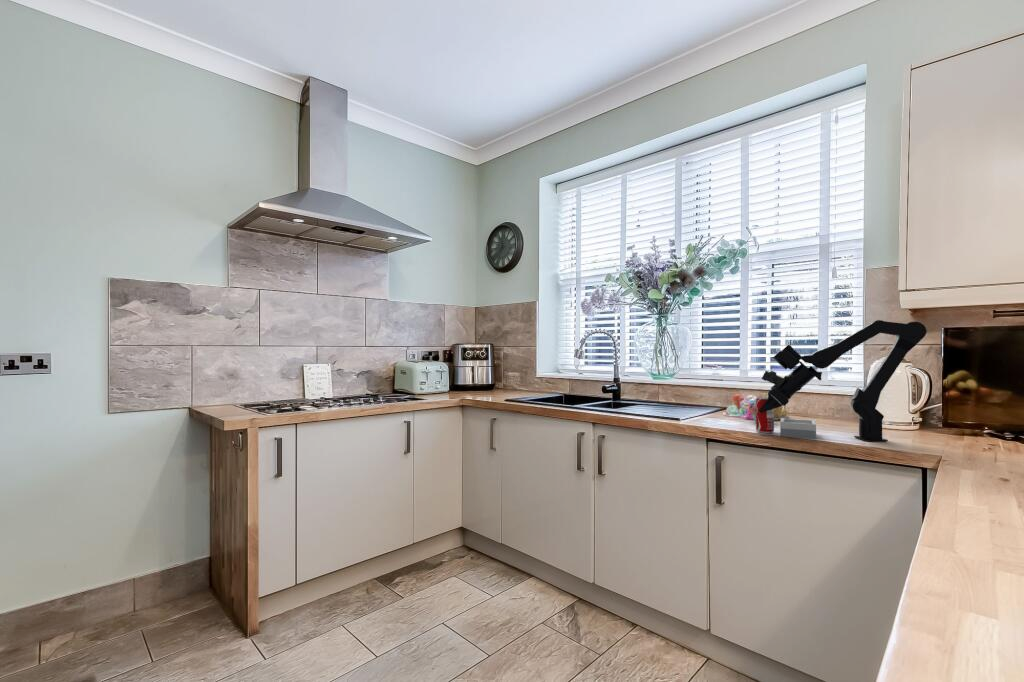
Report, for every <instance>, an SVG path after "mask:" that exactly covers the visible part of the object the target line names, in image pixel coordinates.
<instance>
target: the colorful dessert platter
mask: <svg viewBox="0 0 1024 682" xmlns="http://www.w3.org/2000/svg"><path fill="white" fill-rule="evenodd" d="M731 399H732V402H733V404H732V405H729V406H728V407H726V408H725V412H723V413H722V415H723V416H724V417H728V418H729V417H730V418H739V419H743V420H755V418H754V416H753V414H752V413H750V409H751V407H753V406H754V405H756V399H757V396H756V395H752V394H750V395H747V397H746V398H745V397H743V396H742V395H741V394H739V393H735V394H733V395H732V397H731ZM774 410H775V414H774V421H775V420H779V421H780V420H781V418H786V419H787V418H789V415H788V411H787V410H786V409H785V408H784V406H781V407H778V408H775V409H774Z"/></svg>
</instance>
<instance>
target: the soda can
mask: <svg viewBox="0 0 1024 682" xmlns="http://www.w3.org/2000/svg"><path fill="white" fill-rule="evenodd" d="M756 398H757V399H756V421H755V431H758V432H757V433H761V432H762V433H761V434H772V432H774V431H775V420H774V409H772V410H769V411H766V412H763V413H760V412H759V409H760V408H761V407H762V405H763V404H764V403H765V402H766V400H767V399H768V396H767V397H765V396H756Z"/></svg>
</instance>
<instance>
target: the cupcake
mask: <svg viewBox="0 0 1024 682" xmlns="http://www.w3.org/2000/svg"><path fill="white" fill-rule="evenodd" d="M764 397H768V392H767V391H766V393H765V394H764ZM750 413H752V414H753V416H754V418H755V419H754V421H755V422H756V405H754V406H753V407H751V409H750ZM774 414H775V410H774Z"/></svg>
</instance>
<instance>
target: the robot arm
mask: <svg viewBox="0 0 1024 682" xmlns="http://www.w3.org/2000/svg"><path fill="white" fill-rule="evenodd" d="M879 334H884V335H892V336H895V338H894V341H893V344H892V347H891V348H890V350H889V352H888V353H887V354H886V356H885V358H884V359H883V361H882V362H881V364H880V365H879V367H878V368H877V370H876V371H875V372H874V375H873V376H872V377H871V379H870V380H869V382H868V383H867V384H866V386H864V387H863V388H862V389H861V388H859V387H857V388H856V389H855V391H854V394H853V395H852V396H850V397H849V398H850V400H851V401H850V407H851V409H852V410H853V412H855V413H856V414H857V415H858V416H859V418H858V435H854V436H853V437H854V438H855V439H859V440H862V441H865V442H888V439H886V438H884V437H883V420H884V418H885V415H884V414H883V413H881V412H880V411H879V410H878V409H876V407H877V404H878V403H879V399H880V397H881V393H882V391H883V390H884V388H885V386H886V385H887V384H888V383H889V381H890V379H891V378H892V376H893V374H895V372H896V371H897V369H898V367H899V366H900V364H901V363H902V361H903V360H904V358H905V357H906V356H907V354H908V353H909V352H910V351H911V350H913V348H915V346H917V345H918V344H919V343H920V342H921V341H922V340H923V339H924V338H925V336H926V335H927V328H926V326H925V324H924V323H921V322H919V321H910V322H909V321H908V322H905V323H902V322H892V321H884V320H880V319H877V320H873V321H872V322H871V323H870V324H868V325H866V326H864V327H863V328H861V329H860V330H857V331H856V332H855V333H853V334H851V335H849V336H847V337H845V338H844V339H842V340H840V341H838V342H836V343H835V344H832V345H829V346H827V347H824V348H822V349H819V350H816V351H814V352H813V353H812V354H808V355H805V354H804V355H801V354H800V353H798V352H797V351H796V350H795V349H794V347H792V345H790V344H787V345H786V346H785V347H784V348H783V349H782V350H779V352H777V353H776V354H775V355H774V356H773V357H772V359H773V360H774V361H775V362H777V364H779V366H781V367H782V368H783V369H784V370H787V369H789V370H790V371H791V370H792V371H791V372H789V374H787V375H784V377H783V376H780V375H778V374H777V372H775V371H773V370H771V371H770V370H765V372H764V373H763V375H762V377H761V380H763V381H766V382H768V383H771V384H773V385H772V386H771V387H770V389H769V390H768V392H767V397H768V399H767V400H766V402H765V403H764V404H763V405H762V407H761V408H760V409H759V412H760V413H763V412H766V411H769V410H772V409H775V408H778V407H781V406H783V407H785V406H786V405H787V404H789V403H790V402H789V401H790V399H791V398H792V397H793V396H794V395H795V394H797V392H799V391H801V390H802V388H803V387H805V386H806V385H807V384H808V383H810V382H811V381H812V380H813V379H814V378H816V379H817V380H819V381H822V375H823V372H822V371H817V370H816V369H822V370H823V369H826V368H829V366H831V365H832V364H834V363H835V362H836V361H837V360H838V359H840V357H842V356H843V355H844V354H845V353H848V352H849V351H850V350H853V349H854V348H856V347H858V346H860V345H861V344H863V343H865V342H867V341H868V340H870V339H872V338H874V337H875V336H877V335H879ZM800 360H802V361H803V362H802V361H800ZM804 363H806V364H811V365H813V366H811V365H810V366H808V367H807V366H806V365H805V364H804ZM796 366H797V367H796ZM795 367H796V368H795ZM814 367H815V368H816V369H815V368H814ZM793 368H795V369H793Z"/></svg>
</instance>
